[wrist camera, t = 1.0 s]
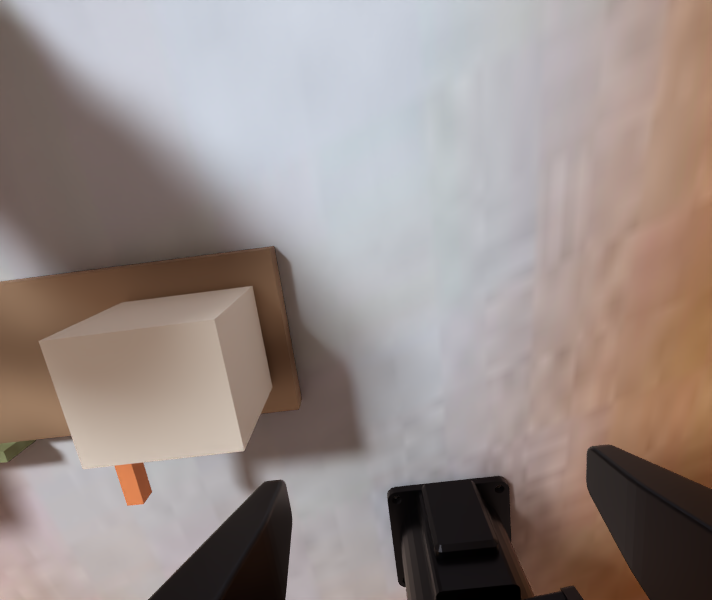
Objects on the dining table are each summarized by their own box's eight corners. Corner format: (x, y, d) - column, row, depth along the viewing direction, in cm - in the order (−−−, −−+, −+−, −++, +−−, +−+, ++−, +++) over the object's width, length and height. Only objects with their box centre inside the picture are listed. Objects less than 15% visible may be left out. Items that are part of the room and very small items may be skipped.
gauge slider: (282, 439, 20) (259, 517, 15) (165, 453, 20) (105, 533, 16) (252, 285, 18) (214, 319, 13) (122, 302, 18) (38, 341, 14)
